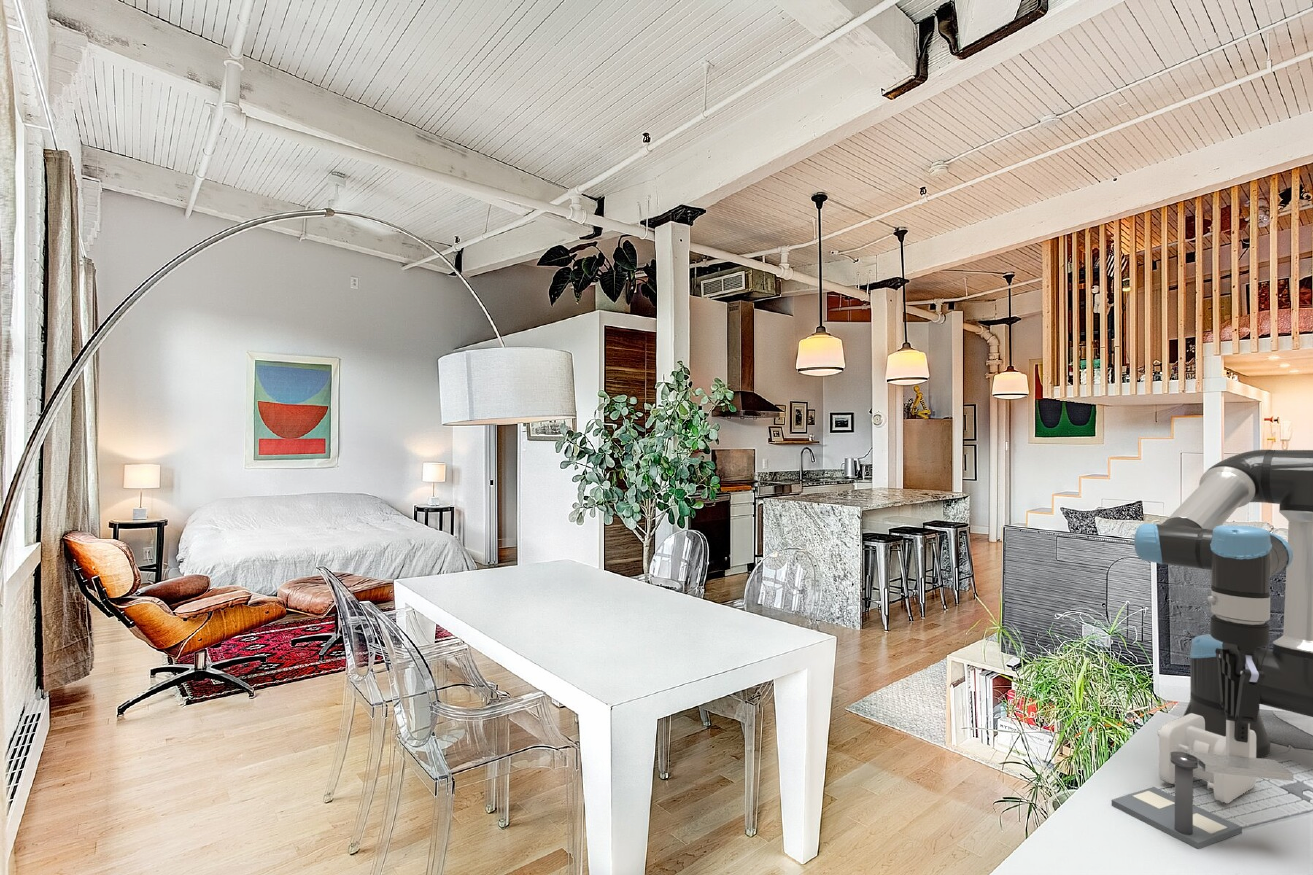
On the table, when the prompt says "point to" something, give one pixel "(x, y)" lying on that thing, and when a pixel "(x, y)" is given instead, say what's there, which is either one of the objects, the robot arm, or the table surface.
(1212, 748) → the cable organizer
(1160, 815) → the label board
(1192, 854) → the table surface
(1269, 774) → the grey lever handle
